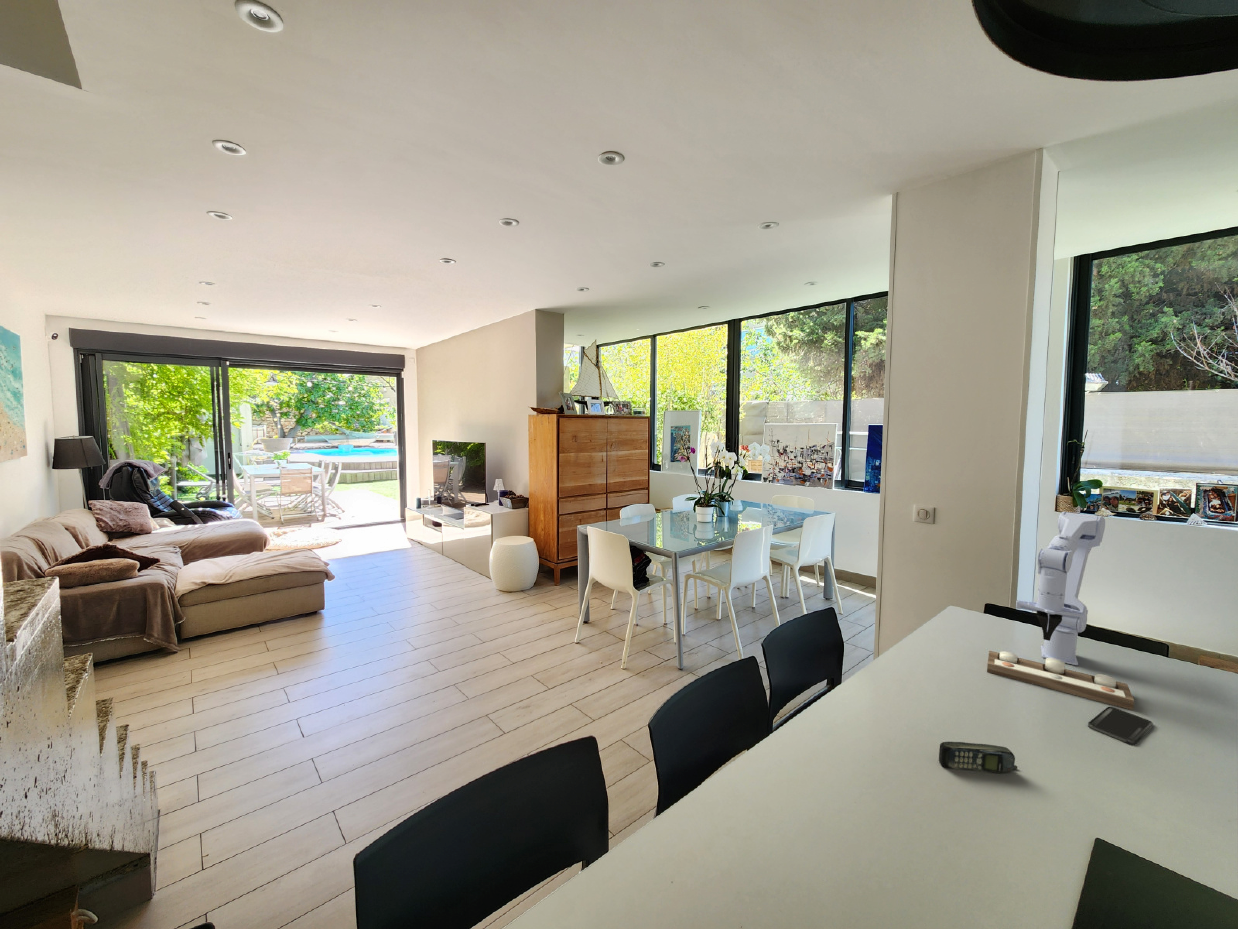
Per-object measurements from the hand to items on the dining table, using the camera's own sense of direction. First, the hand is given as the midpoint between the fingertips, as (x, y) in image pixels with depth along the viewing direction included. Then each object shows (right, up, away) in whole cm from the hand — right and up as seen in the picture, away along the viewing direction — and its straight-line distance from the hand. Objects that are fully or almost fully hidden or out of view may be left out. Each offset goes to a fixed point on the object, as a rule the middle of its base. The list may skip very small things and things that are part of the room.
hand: (1046, 639), depth 141 cm
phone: (-3, -12, -24) cm, 27 cm away
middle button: (-1, -7, -4) cm, 8 cm away
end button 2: (-9, -8, +3) cm, 12 cm away
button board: (-2, -10, -5) cm, 11 cm away
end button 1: (+7, -9, -10) cm, 15 cm away
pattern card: (-4, -8, -7) cm, 11 cm away
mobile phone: (-47, -13, -39) cm, 62 cm away
